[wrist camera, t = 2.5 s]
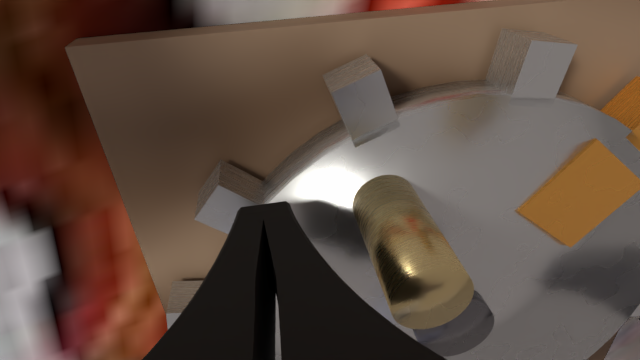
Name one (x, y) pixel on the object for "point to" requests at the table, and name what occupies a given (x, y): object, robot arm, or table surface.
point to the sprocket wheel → (467, 205)
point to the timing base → (297, 96)
